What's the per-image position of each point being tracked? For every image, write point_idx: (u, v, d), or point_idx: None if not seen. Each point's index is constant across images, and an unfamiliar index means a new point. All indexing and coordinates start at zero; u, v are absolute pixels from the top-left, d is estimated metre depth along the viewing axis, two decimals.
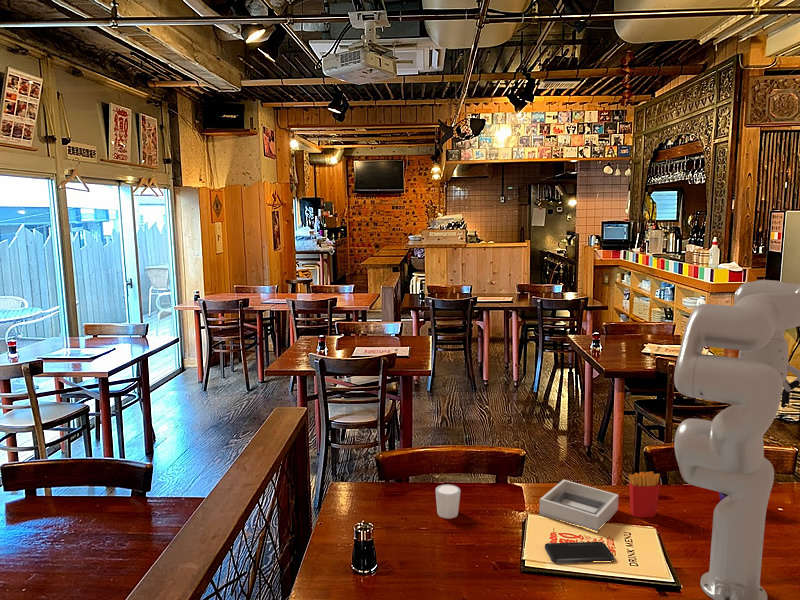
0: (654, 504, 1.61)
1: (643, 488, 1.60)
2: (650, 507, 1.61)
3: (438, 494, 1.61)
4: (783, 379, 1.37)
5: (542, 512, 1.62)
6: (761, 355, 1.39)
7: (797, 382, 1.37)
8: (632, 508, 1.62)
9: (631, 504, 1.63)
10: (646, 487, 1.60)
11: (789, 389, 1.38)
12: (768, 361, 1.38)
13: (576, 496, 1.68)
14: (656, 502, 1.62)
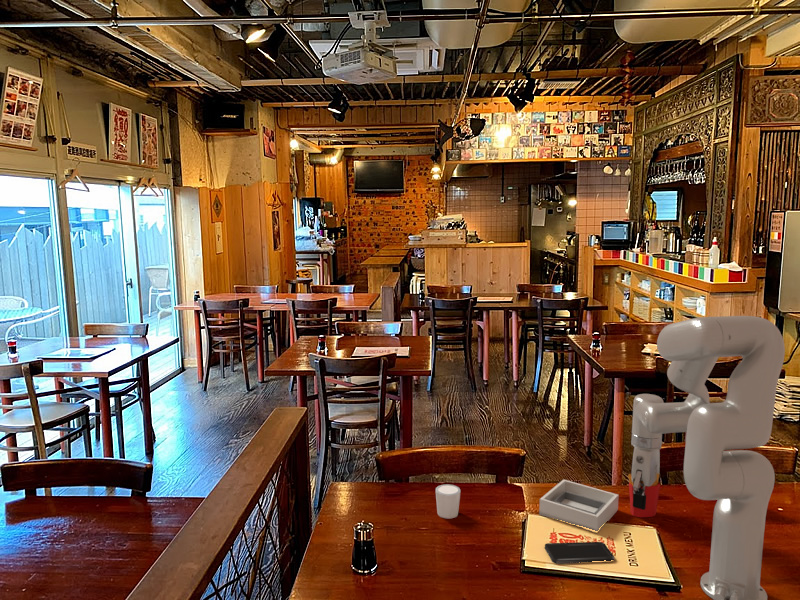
0: (654, 504, 1.61)
1: None
2: (650, 507, 1.61)
3: (438, 494, 1.61)
4: None
5: (542, 512, 1.62)
6: (655, 460, 1.59)
7: None
8: (632, 508, 1.62)
9: (631, 504, 1.63)
10: (646, 487, 1.60)
11: None
12: (657, 463, 1.61)
13: (576, 496, 1.68)
14: (656, 502, 1.62)
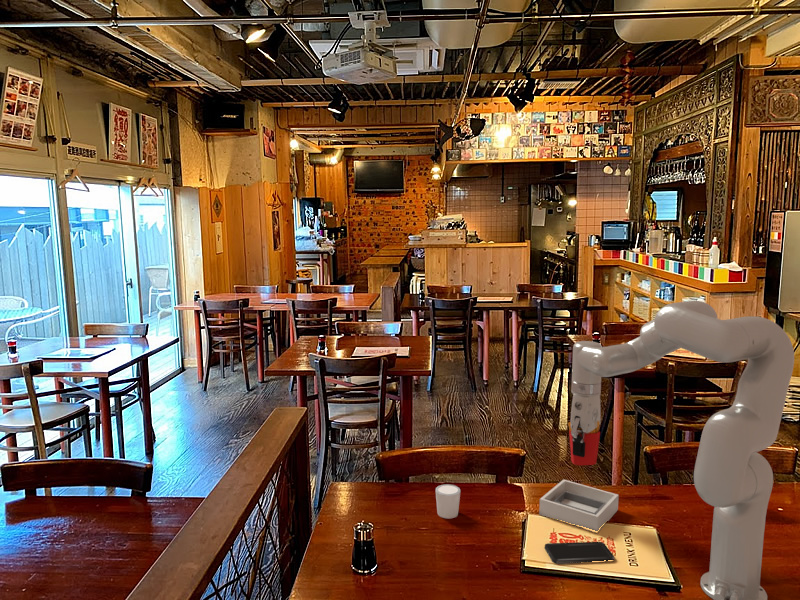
0: (594, 452, 1.60)
1: None
2: (590, 455, 1.60)
3: (438, 494, 1.61)
4: None
5: (542, 512, 1.62)
6: (595, 407, 1.58)
7: None
8: (572, 456, 1.61)
9: (571, 452, 1.62)
10: (585, 434, 1.59)
11: None
12: (597, 410, 1.60)
13: (576, 496, 1.68)
14: (596, 450, 1.60)
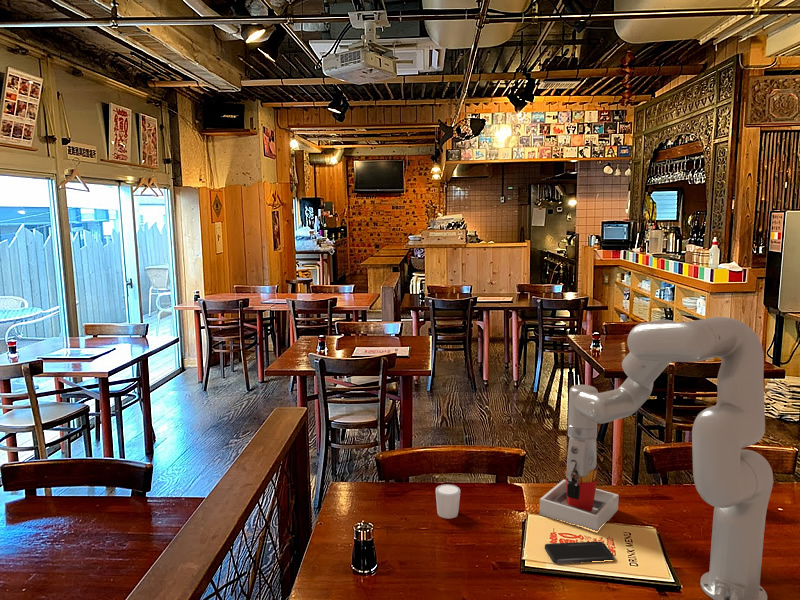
0: (590, 501, 1.61)
1: (578, 484, 1.60)
2: (586, 503, 1.61)
3: (438, 494, 1.61)
4: None
5: (542, 512, 1.62)
6: (591, 451, 1.60)
7: None
8: (568, 504, 1.63)
9: (567, 500, 1.63)
10: (582, 483, 1.60)
11: (592, 470, 1.66)
12: (593, 453, 1.61)
13: None
14: (592, 498, 1.62)
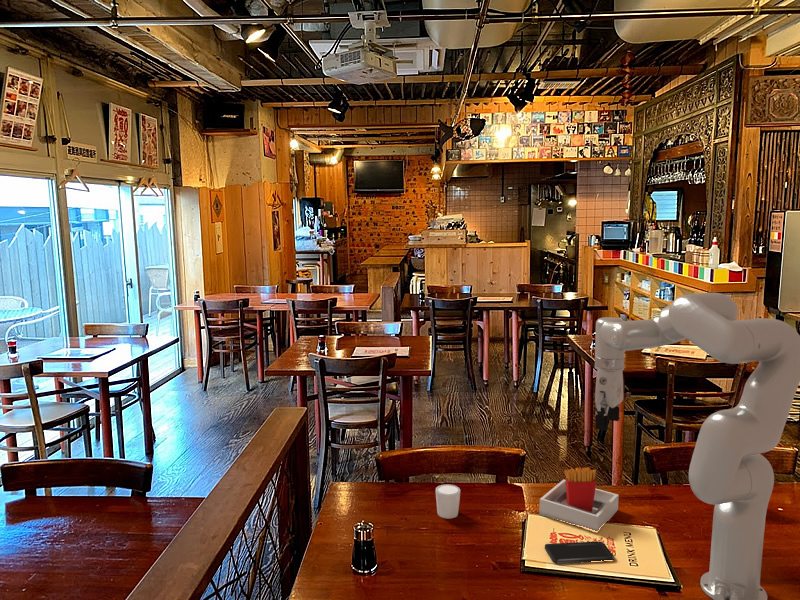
0: (590, 500, 1.62)
1: (578, 484, 1.61)
2: (586, 503, 1.61)
3: (438, 494, 1.61)
4: None
5: (542, 512, 1.62)
6: (618, 382, 1.60)
7: None
8: (568, 504, 1.63)
9: (567, 500, 1.63)
10: (581, 483, 1.61)
11: (618, 404, 1.66)
12: (620, 385, 1.61)
13: None
14: (592, 498, 1.62)
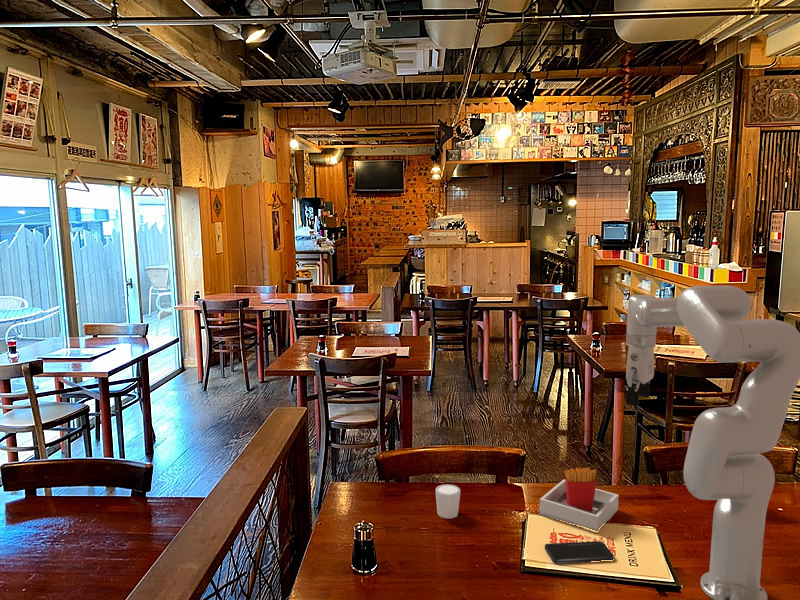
0: (590, 500, 1.62)
1: (578, 484, 1.61)
2: (586, 503, 1.61)
3: (438, 494, 1.61)
4: None
5: (542, 512, 1.62)
6: (650, 359, 1.61)
7: None
8: (568, 504, 1.63)
9: (567, 500, 1.63)
10: (581, 483, 1.61)
11: (649, 381, 1.68)
12: (651, 362, 1.63)
13: None
14: (592, 498, 1.62)
